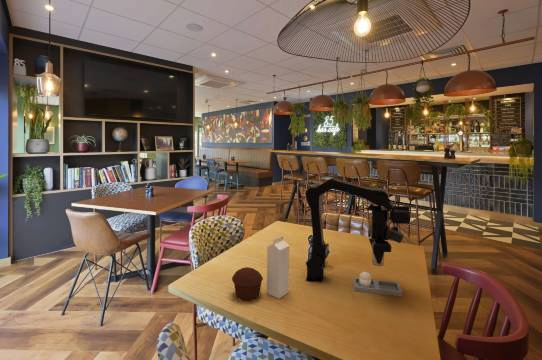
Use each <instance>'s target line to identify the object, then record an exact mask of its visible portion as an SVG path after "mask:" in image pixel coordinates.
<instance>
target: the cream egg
mask: <svg viewBox="0 0 542 360" xmlns="http://www.w3.org/2000/svg"><path fill="white" fill-rule="evenodd" d="M358 278H359V287H368V288H371V279H372V276H371V273H369V272H367V271H363V272H361V273H360V274H359V277H358Z"/></svg>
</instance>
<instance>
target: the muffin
mask: <svg viewBox="0 0 542 360" xmlns="http://www.w3.org/2000/svg"><path fill="white" fill-rule="evenodd" d="M263 280H264V278H263V276H262V274H261V273H260V272H259V271H258V270H257V269H255V268H254V267H249V266H248V267H247V266H246V267H242V268H239V269H238V270H236V271H235V273H234V274H233V275H232V277H231V281H232V283H233V284H234V289H235V296H236V298H237V299H238V300H240V301H242V302H244V301H246V302H251V301H253V300H257V298H258V297H259V296H260V292H261V287H262V281H263Z"/></svg>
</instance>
